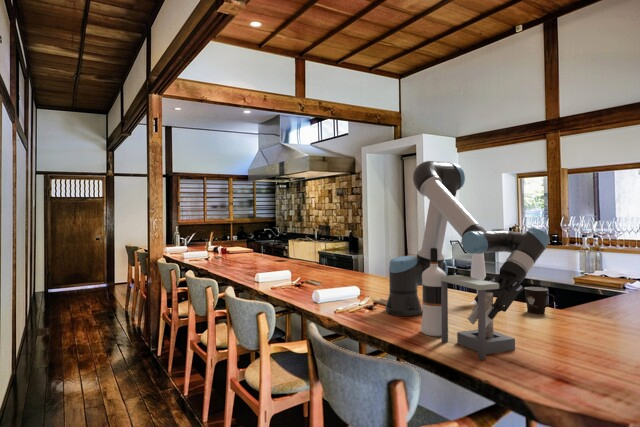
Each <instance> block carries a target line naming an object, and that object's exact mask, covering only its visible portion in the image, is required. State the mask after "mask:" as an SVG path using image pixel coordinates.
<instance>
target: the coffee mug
mask: <svg viewBox="0 0 640 427" xmlns="http://www.w3.org/2000/svg"><path fill="white" fill-rule="evenodd" d="M548 291H549V290H548V289H547V288H546V287H545V288H544V287H539V286H536V287H535V286H526V287H524V295H525V303H526V310H527V313H529V314H533V315H545V314H544V313H546V308H547V307H549V306H551V305H553V304H554V303H555V302H556V297H555V296H554V294H551V293H548ZM548 296H551V297H552V299H553V301H552V302H550V303H549V304H547V297H548Z"/></svg>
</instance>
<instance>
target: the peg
mask: <svg viewBox="0 0 640 427" xmlns="http://www.w3.org/2000/svg"><path fill="white" fill-rule="evenodd" d="M492 304H494V297H493V293H491V292H485V313H486V311H487V310H488V308H489V307H490V306H491V307H493V306H492ZM493 331H494V319H492V320H491V321H490V323H489V324H488V325H487V327H486V339H490V338H494V335H493Z"/></svg>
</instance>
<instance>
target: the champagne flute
mask: <svg viewBox="0 0 640 427" xmlns="http://www.w3.org/2000/svg"><path fill="white" fill-rule="evenodd" d="M471 255H472V256H471V265H470V278H475V279H480V280H485V279H486V277H487V273H486V264H485V253H482V254H472V253H471ZM477 294H478V290H477V289H476V295H477ZM470 304H471V305H474V306H476V304H477V302H476V301H475V300H473V301H472V302H470Z"/></svg>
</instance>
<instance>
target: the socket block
mask: <svg viewBox="0 0 640 427" xmlns="http://www.w3.org/2000/svg"><path fill="white" fill-rule="evenodd" d="M493 335H494V338H490V339H486V355H492V354H499V353H503V352H505V353H506V352H510V351H516V338H515V337H512V336H509V335H506V334H503V333H500V332H498V331H495V330H493ZM456 338H457V339H456V341H457V344H459V345H461V346H463V347H466V348H468V349H470V350H472V351H475V352H476V353H478V329H471V330H464V331H457V333H456Z"/></svg>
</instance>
